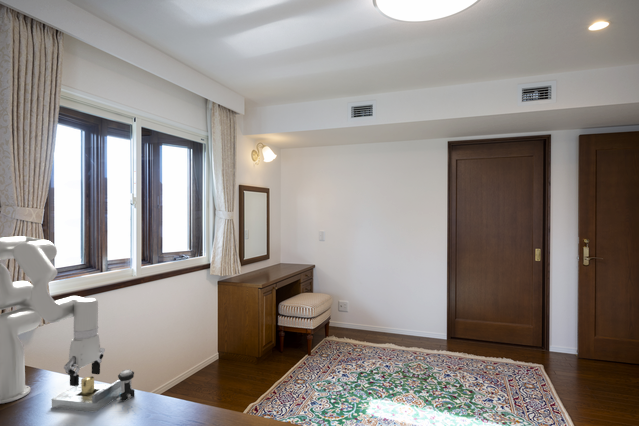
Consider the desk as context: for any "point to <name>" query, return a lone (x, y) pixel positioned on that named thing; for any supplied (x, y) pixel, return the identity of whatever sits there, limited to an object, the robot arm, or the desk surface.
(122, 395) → the push button
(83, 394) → the gold domed cylinder
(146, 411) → the desk surface
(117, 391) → the jig
